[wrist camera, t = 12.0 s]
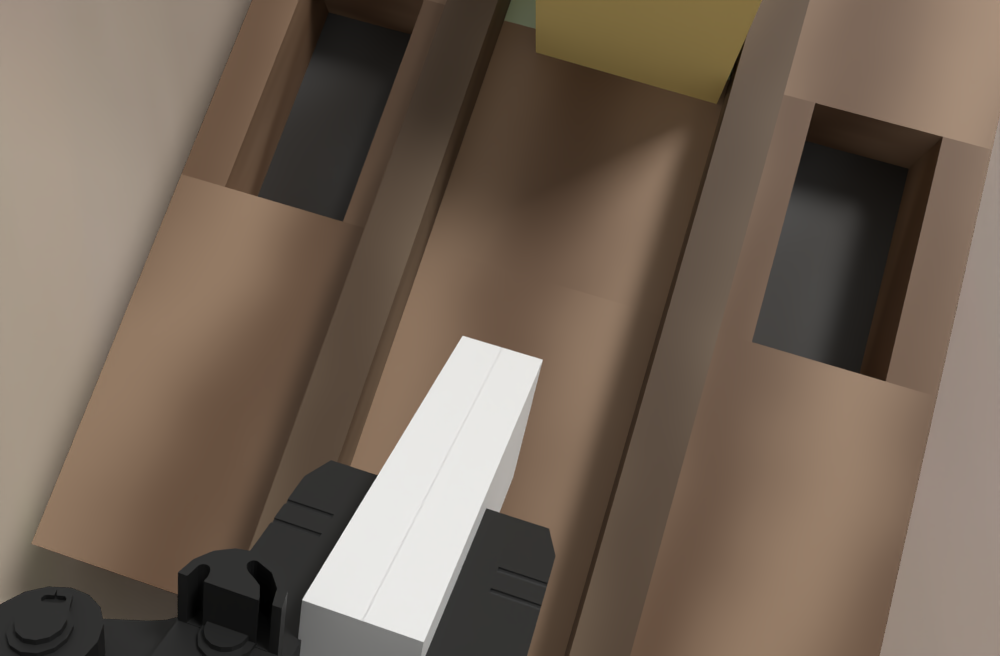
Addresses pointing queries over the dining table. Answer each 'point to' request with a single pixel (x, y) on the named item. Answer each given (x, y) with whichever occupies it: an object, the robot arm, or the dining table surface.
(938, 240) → the trap board
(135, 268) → the dining table surface
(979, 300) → the dining table surface
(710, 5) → the ochre block
